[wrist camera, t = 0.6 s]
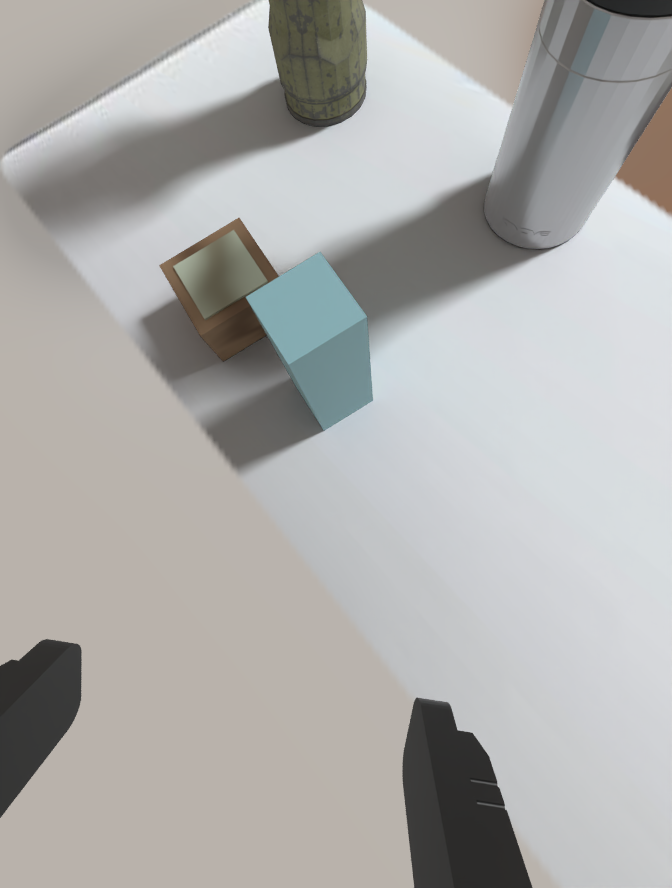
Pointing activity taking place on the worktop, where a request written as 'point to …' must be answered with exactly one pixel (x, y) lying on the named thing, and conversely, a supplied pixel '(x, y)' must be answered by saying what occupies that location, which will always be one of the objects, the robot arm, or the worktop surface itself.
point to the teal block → (318, 338)
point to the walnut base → (221, 287)
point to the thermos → (320, 57)
